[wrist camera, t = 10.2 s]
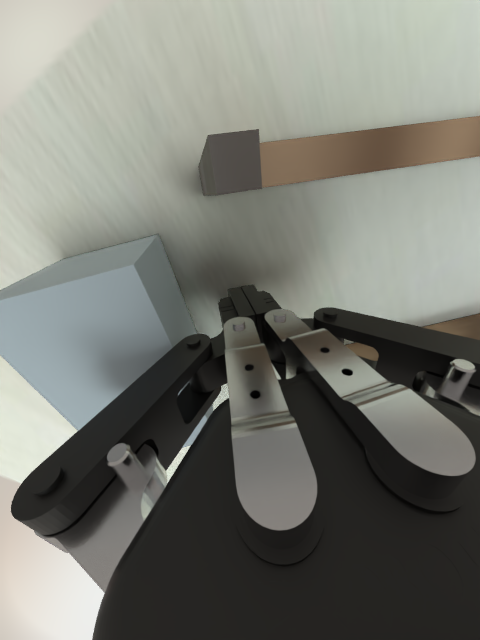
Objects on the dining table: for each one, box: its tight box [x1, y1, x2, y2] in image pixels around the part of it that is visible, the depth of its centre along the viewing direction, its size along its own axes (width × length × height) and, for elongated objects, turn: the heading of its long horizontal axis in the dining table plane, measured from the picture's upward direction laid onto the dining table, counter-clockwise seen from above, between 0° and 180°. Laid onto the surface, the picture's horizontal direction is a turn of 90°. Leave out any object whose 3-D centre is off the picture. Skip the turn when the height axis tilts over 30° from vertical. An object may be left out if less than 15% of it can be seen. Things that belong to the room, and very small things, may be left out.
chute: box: [198, 116, 480, 361], centre depth 13 cm, size 24×14×6 cm, turn 97°
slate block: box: [0, 234, 213, 448], centre depth 11 cm, size 5×9×6 cm, turn 12°
